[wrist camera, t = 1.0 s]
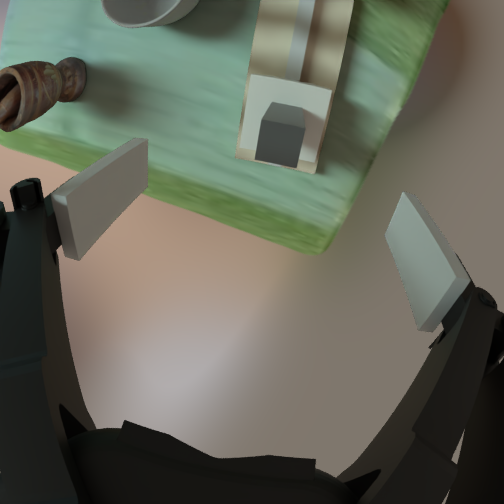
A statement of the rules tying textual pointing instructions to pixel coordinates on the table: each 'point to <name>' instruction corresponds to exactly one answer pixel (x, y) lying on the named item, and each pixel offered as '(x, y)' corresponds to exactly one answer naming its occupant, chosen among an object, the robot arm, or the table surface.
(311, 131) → the carriage
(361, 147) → the table surface
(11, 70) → the mortar and pestle
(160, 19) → the teacup
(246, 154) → the rail board
